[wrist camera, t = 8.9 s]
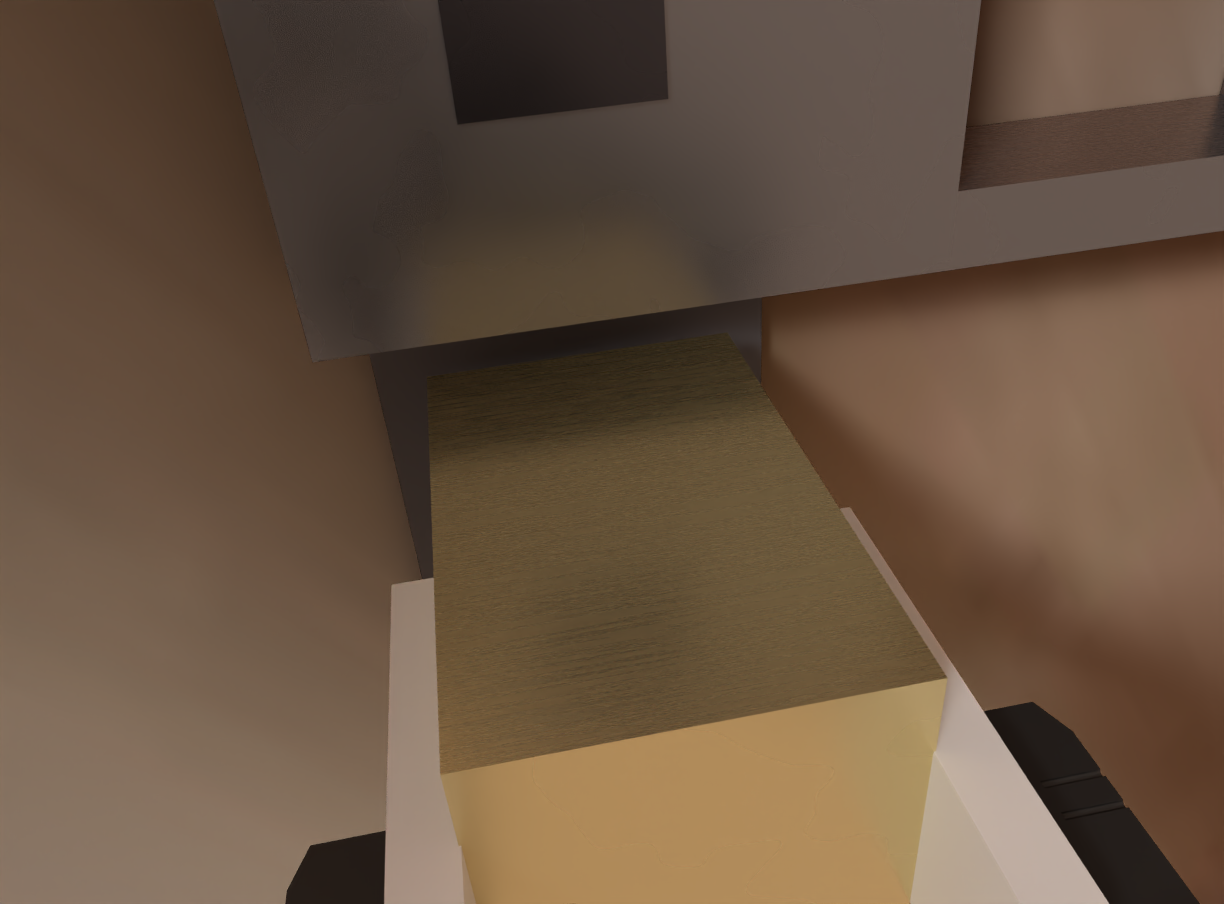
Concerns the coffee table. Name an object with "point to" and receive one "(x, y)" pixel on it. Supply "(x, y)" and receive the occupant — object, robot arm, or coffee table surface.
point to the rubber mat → (409, 368)
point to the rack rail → (665, 158)
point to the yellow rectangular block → (664, 644)
